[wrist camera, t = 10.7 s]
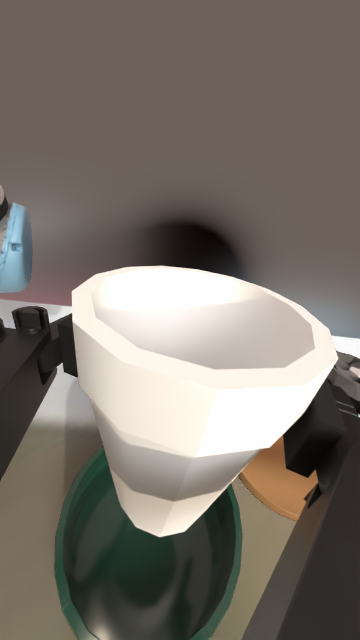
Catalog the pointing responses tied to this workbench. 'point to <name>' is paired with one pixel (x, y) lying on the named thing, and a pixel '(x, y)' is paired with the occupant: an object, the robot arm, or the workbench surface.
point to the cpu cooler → (347, 377)
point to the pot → (142, 566)
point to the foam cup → (190, 381)
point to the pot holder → (277, 481)
